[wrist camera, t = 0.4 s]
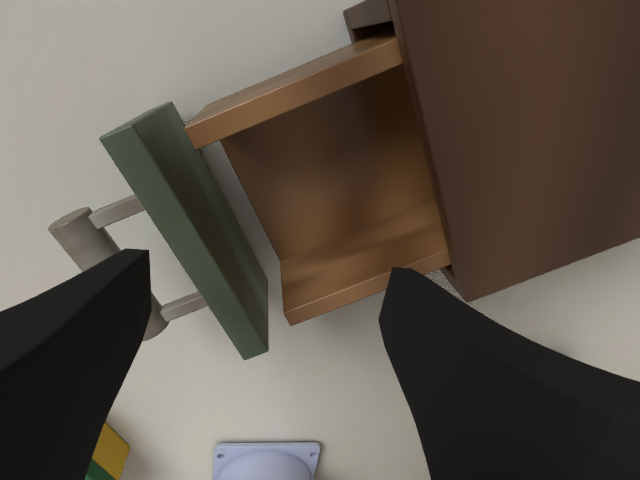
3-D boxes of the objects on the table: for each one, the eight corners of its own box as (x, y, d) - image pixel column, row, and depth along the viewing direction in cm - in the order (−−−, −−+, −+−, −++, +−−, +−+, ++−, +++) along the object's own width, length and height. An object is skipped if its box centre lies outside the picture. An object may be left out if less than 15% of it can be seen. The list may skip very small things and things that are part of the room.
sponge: (75, 468, 28) (51, 520, 25) (10, 414, 25) (-26, 466, 22) (130, 447, 28) (113, 497, 25) (72, 390, 25) (44, 439, 22)
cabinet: (405, 227, 22) (466, 304, 16) (342, 11, 17) (392, -12, 10) (630, 138, 22) (794, 179, 15) (637, -116, 16) (897, -229, 10)
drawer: (180, 314, 22) (154, 395, 17) (61, 147, 17) (-25, 189, 12) (456, 206, 21) (516, 256, 16) (411, -2, 16) (477, -24, 11)
